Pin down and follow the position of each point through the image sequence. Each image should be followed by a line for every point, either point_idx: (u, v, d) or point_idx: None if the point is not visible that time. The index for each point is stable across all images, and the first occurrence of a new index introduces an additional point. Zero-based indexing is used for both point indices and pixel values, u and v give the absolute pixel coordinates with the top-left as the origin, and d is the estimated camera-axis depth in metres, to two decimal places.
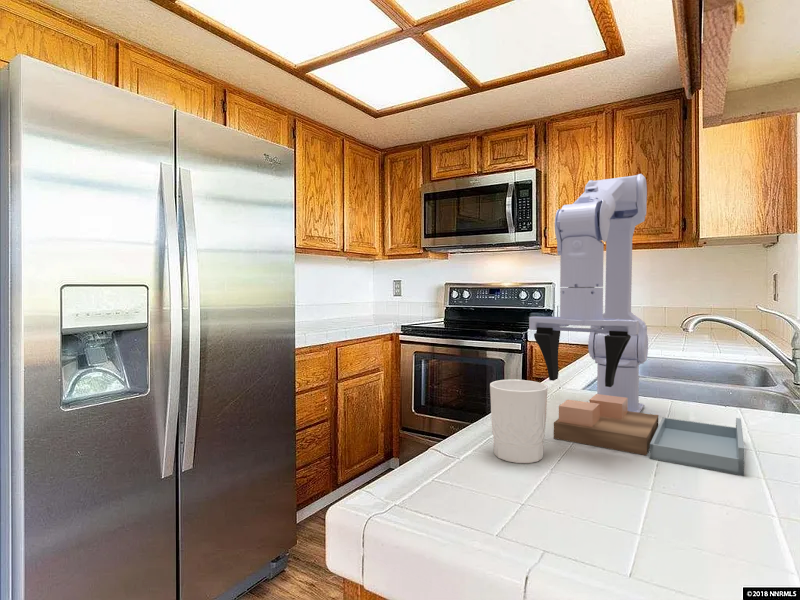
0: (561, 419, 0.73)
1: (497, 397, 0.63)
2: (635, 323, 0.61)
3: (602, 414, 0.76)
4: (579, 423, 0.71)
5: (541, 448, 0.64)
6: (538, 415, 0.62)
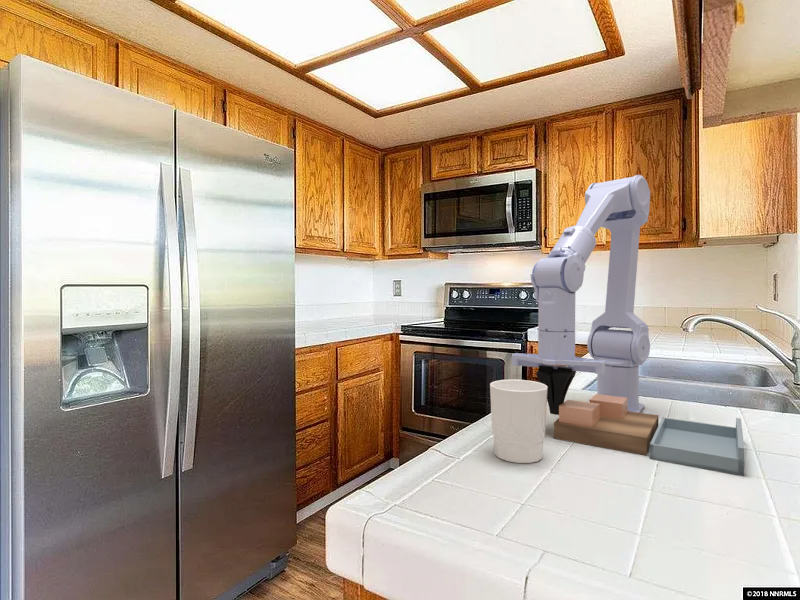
0: (561, 419, 0.73)
1: (497, 397, 0.63)
2: (601, 364, 0.71)
3: (602, 414, 0.76)
4: (579, 423, 0.71)
5: (541, 448, 0.64)
6: (538, 415, 0.62)
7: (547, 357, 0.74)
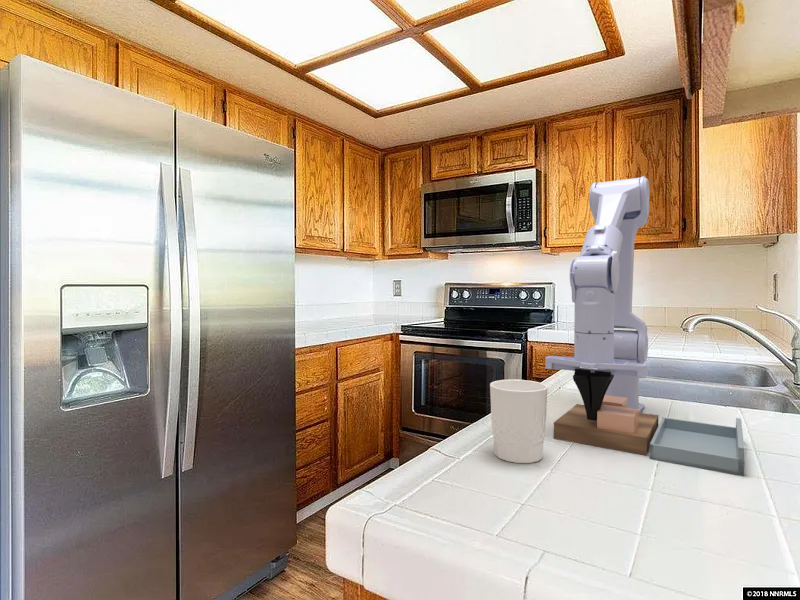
0: (600, 425, 0.70)
1: (497, 397, 0.63)
2: (643, 368, 0.67)
3: None
4: (619, 430, 0.68)
5: (541, 448, 0.64)
6: (538, 415, 0.62)
7: (585, 360, 0.70)
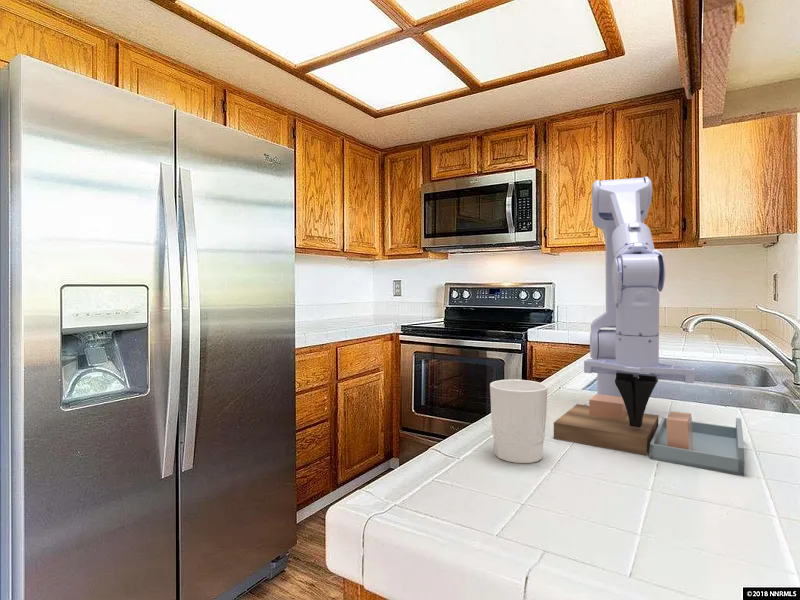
0: (669, 422, 0.64)
1: (497, 397, 0.63)
2: (692, 372, 0.64)
3: (602, 414, 0.76)
4: (669, 442, 0.64)
5: (541, 448, 0.64)
6: (538, 415, 0.62)
7: (629, 364, 0.67)
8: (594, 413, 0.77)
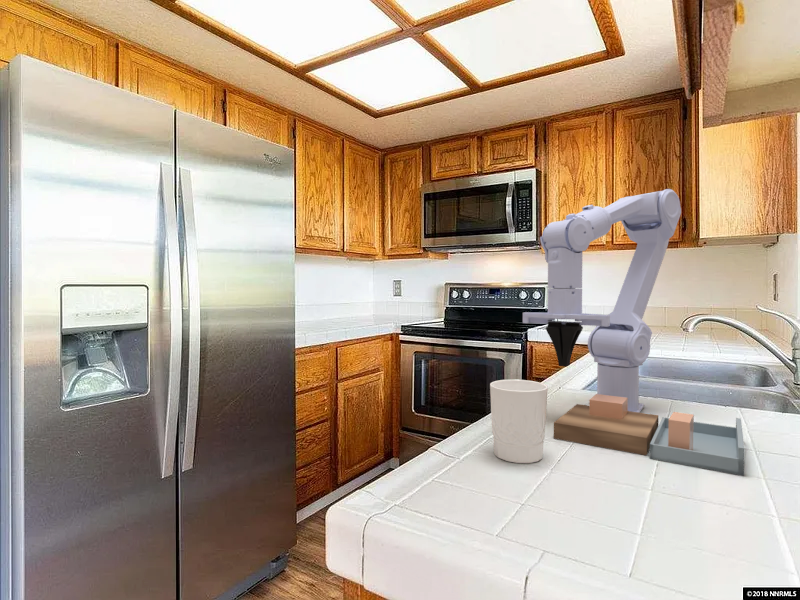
0: (671, 423, 0.64)
1: (498, 397, 0.63)
2: (607, 317, 0.77)
3: (602, 414, 0.76)
4: (670, 442, 0.64)
5: (541, 448, 0.64)
6: (538, 415, 0.62)
7: (556, 312, 0.79)
8: (594, 413, 0.77)
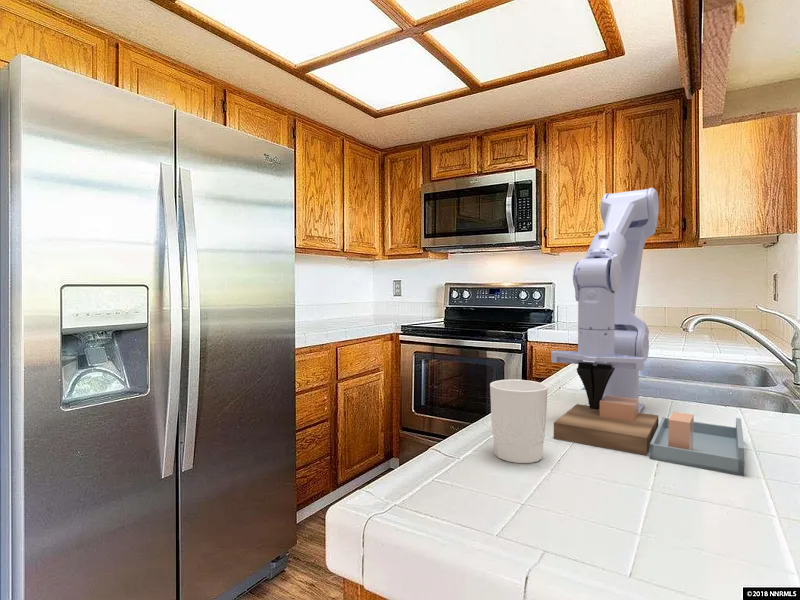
0: (671, 423, 0.64)
1: (497, 397, 0.63)
2: (641, 361, 0.74)
3: (612, 416, 0.75)
4: (670, 442, 0.64)
5: (541, 448, 0.64)
6: (538, 415, 0.62)
7: (588, 354, 0.77)
8: (604, 415, 0.76)
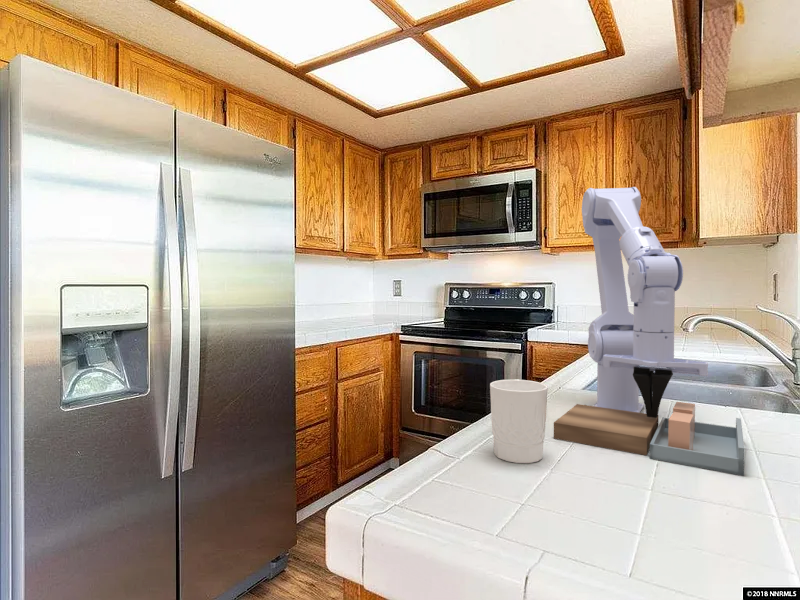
0: (671, 423, 0.64)
1: (497, 397, 0.63)
2: (706, 366, 0.69)
3: None
4: (670, 442, 0.64)
5: (541, 448, 0.64)
6: (538, 415, 0.62)
7: (646, 359, 0.72)
8: None
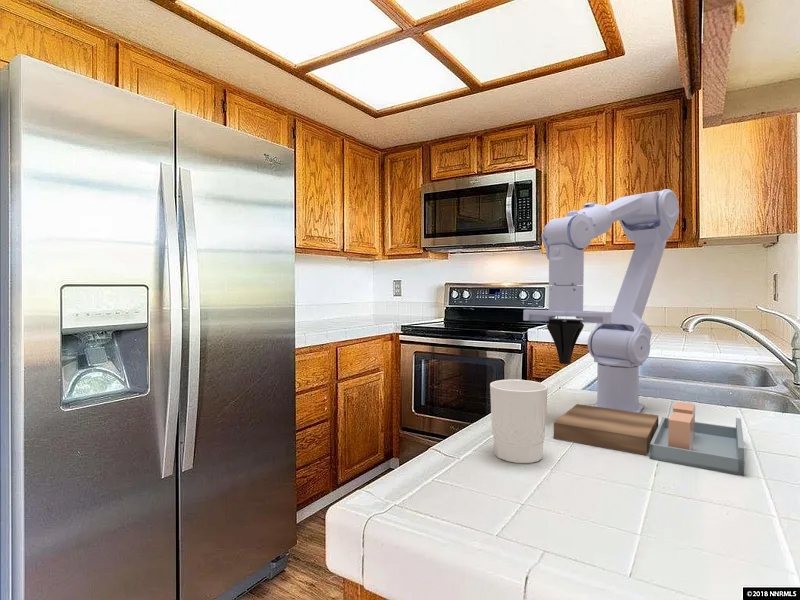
0: (671, 423, 0.64)
1: (497, 397, 0.63)
2: (608, 314, 0.76)
3: None
4: (670, 442, 0.64)
5: (541, 448, 0.64)
6: (538, 415, 0.62)
7: (557, 309, 0.79)
8: None
